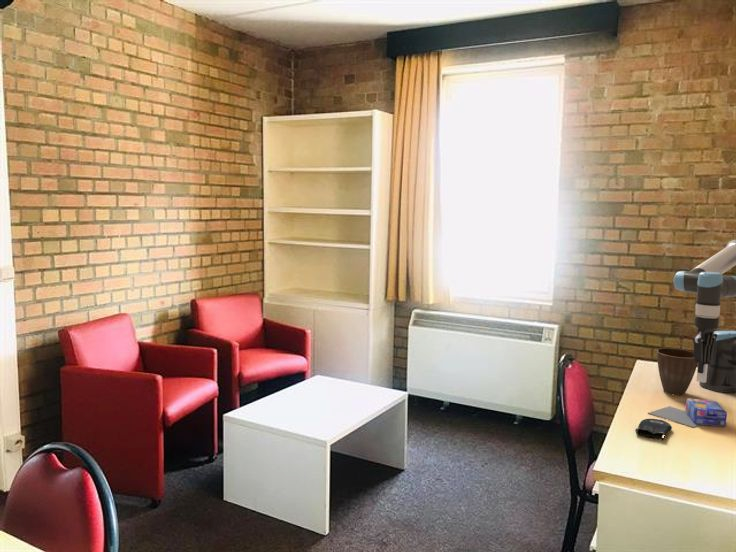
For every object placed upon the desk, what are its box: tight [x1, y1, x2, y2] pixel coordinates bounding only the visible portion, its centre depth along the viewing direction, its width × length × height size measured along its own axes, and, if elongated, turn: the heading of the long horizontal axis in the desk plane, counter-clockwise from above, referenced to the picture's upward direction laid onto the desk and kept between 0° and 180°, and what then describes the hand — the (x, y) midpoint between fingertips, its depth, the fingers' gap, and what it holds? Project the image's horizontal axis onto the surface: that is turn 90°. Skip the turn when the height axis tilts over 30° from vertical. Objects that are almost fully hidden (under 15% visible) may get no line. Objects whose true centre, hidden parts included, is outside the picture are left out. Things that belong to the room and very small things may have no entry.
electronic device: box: [634, 418, 673, 441], centre depth 205 cm, size 9×6×15 cm
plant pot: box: [656, 347, 698, 396], centre depth 248 cm, size 15×15×16 cm
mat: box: [647, 405, 702, 429], centre depth 221 cm, size 14×16×1 cm
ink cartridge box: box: [684, 398, 728, 428], centre depth 216 cm, size 10×6×14 cm
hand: (701, 381), depth 226 cm, fingers closed
